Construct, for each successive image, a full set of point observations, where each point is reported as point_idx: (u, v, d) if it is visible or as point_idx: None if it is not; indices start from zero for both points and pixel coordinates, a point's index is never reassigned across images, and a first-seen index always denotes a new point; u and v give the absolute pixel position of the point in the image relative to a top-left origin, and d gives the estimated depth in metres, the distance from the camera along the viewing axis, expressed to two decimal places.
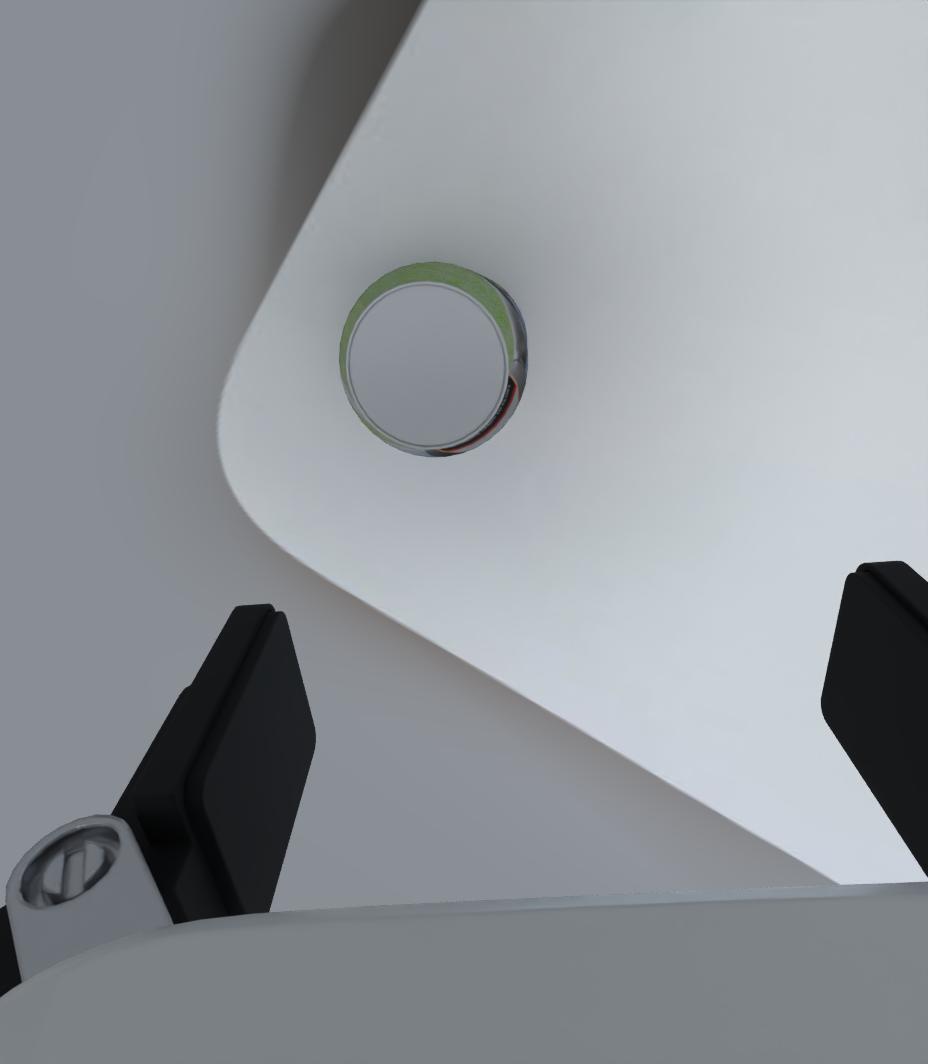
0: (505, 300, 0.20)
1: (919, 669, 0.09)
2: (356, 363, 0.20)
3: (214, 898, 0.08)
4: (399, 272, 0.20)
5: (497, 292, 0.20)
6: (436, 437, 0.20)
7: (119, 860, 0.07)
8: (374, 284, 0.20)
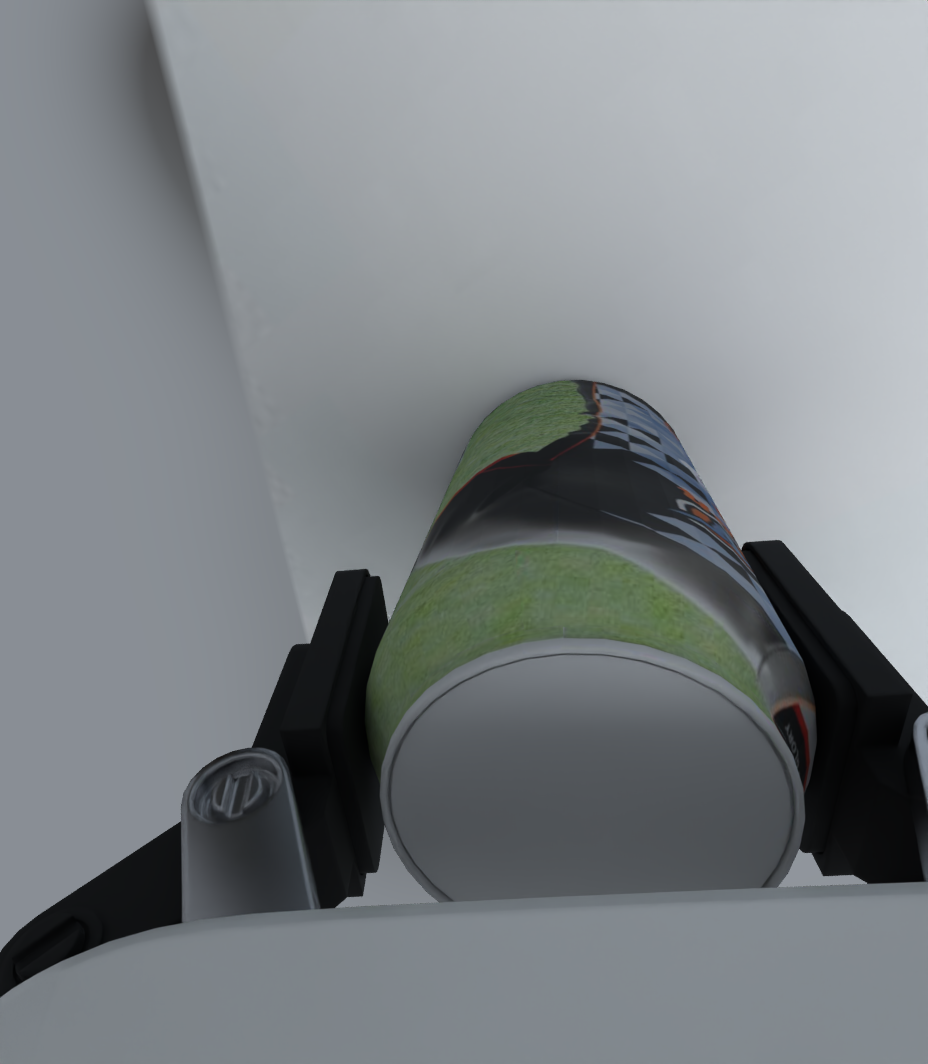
0: (639, 550, 0.08)
1: None
2: (442, 876, 0.09)
3: (345, 829, 0.09)
4: (393, 652, 0.08)
5: (610, 553, 0.08)
6: None
7: (279, 784, 0.08)
8: (369, 692, 0.09)
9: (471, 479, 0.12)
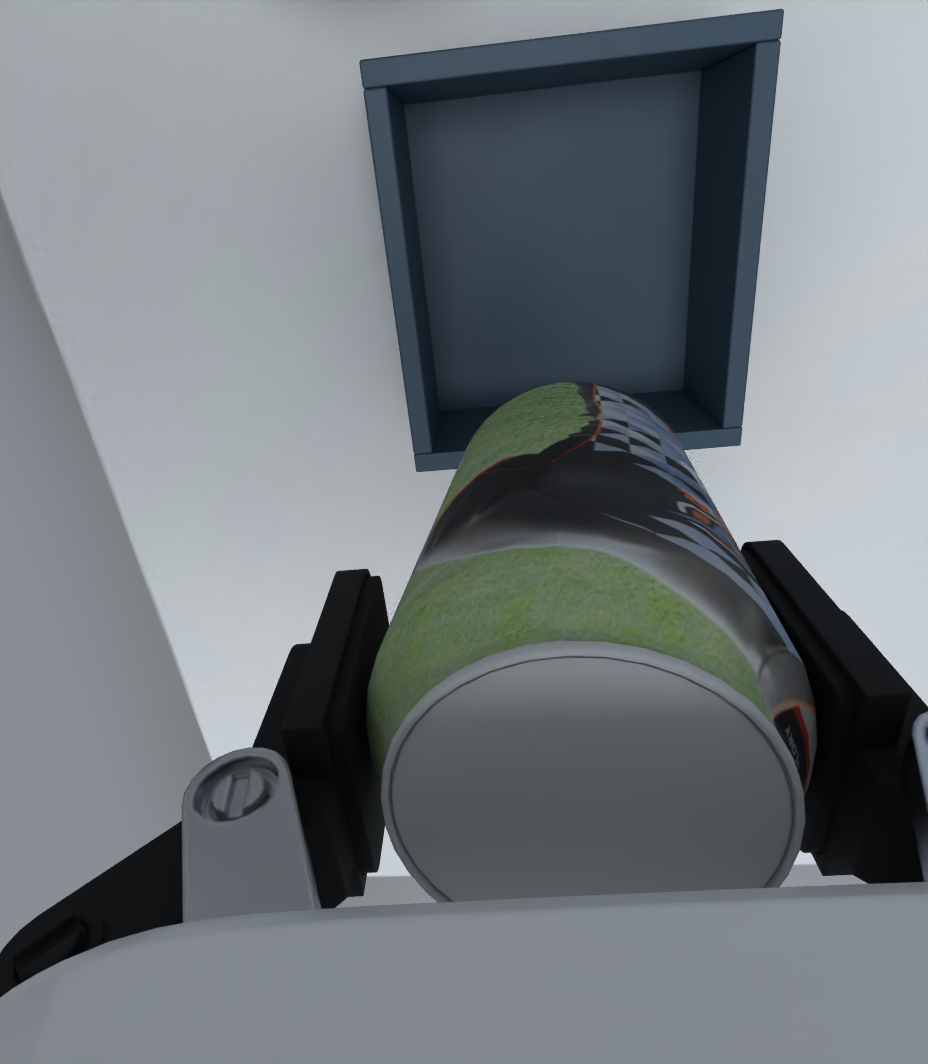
0: (640, 553, 0.08)
1: None
2: (443, 878, 0.09)
3: (346, 829, 0.09)
4: (394, 654, 0.08)
5: (610, 556, 0.08)
6: None
7: (280, 784, 0.08)
8: (370, 694, 0.09)
9: (472, 481, 0.12)
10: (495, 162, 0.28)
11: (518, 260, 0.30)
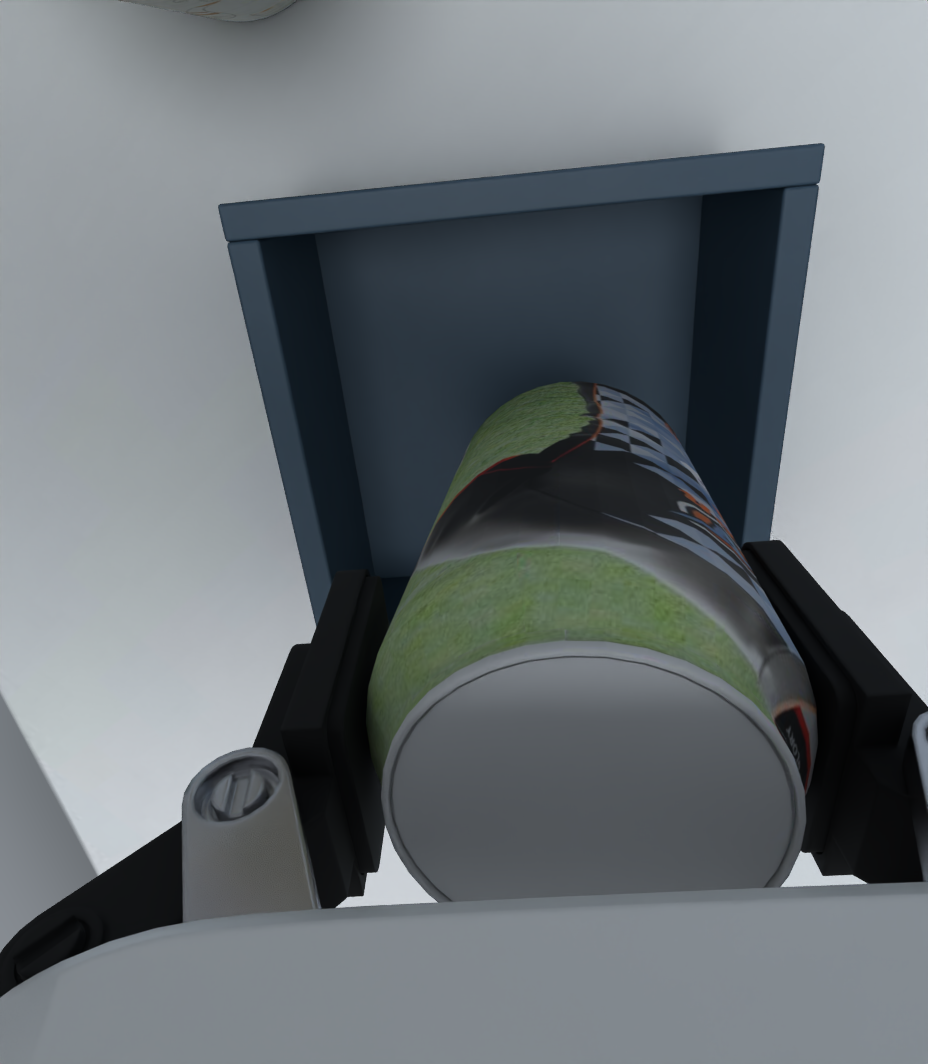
0: (640, 553, 0.08)
1: None
2: (443, 878, 0.09)
3: (346, 830, 0.09)
4: (394, 654, 0.08)
5: (612, 556, 0.08)
6: None
7: (280, 784, 0.08)
8: (370, 694, 0.09)
9: (472, 481, 0.12)
10: (435, 295, 0.22)
11: (469, 410, 0.24)
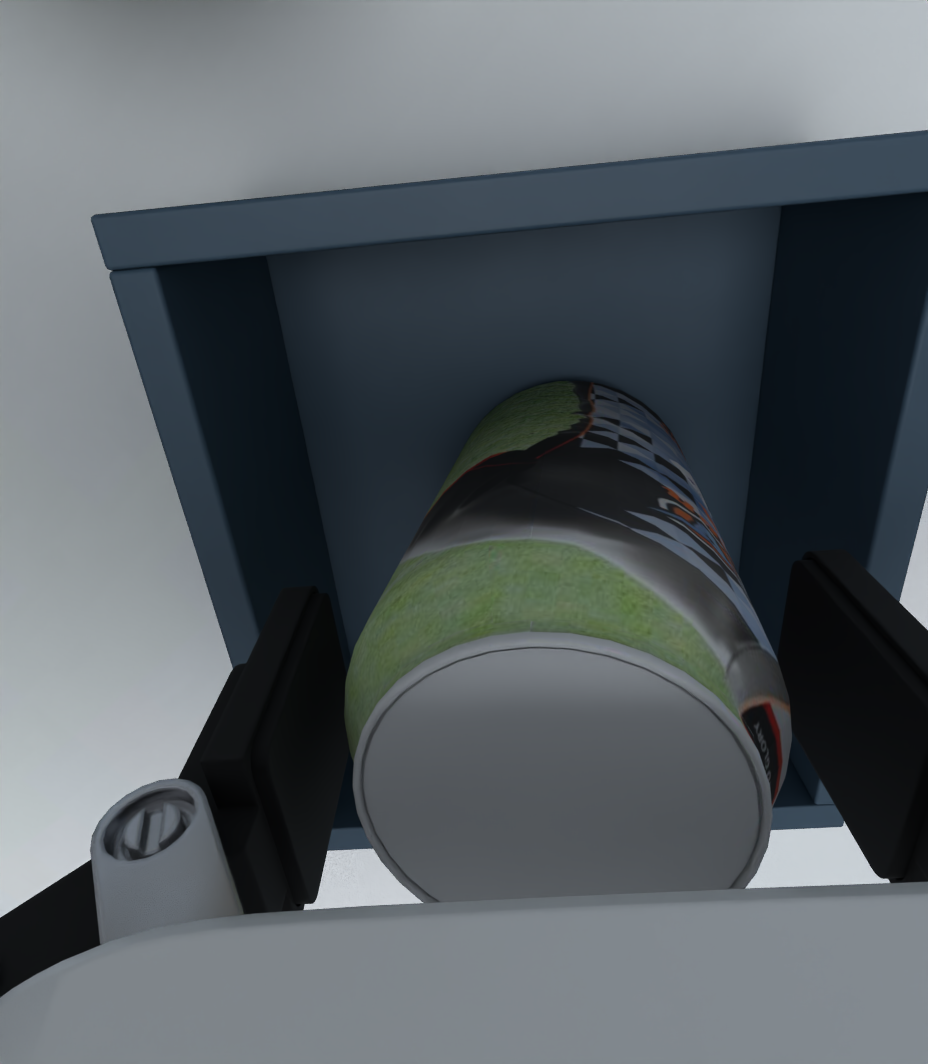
0: (611, 547, 0.08)
1: (851, 650, 0.09)
2: (415, 867, 0.09)
3: (276, 862, 0.08)
4: (369, 644, 0.09)
5: (581, 549, 0.08)
6: None
7: (195, 819, 0.07)
8: (347, 684, 0.09)
9: (460, 477, 0.12)
10: (425, 330, 0.17)
11: None
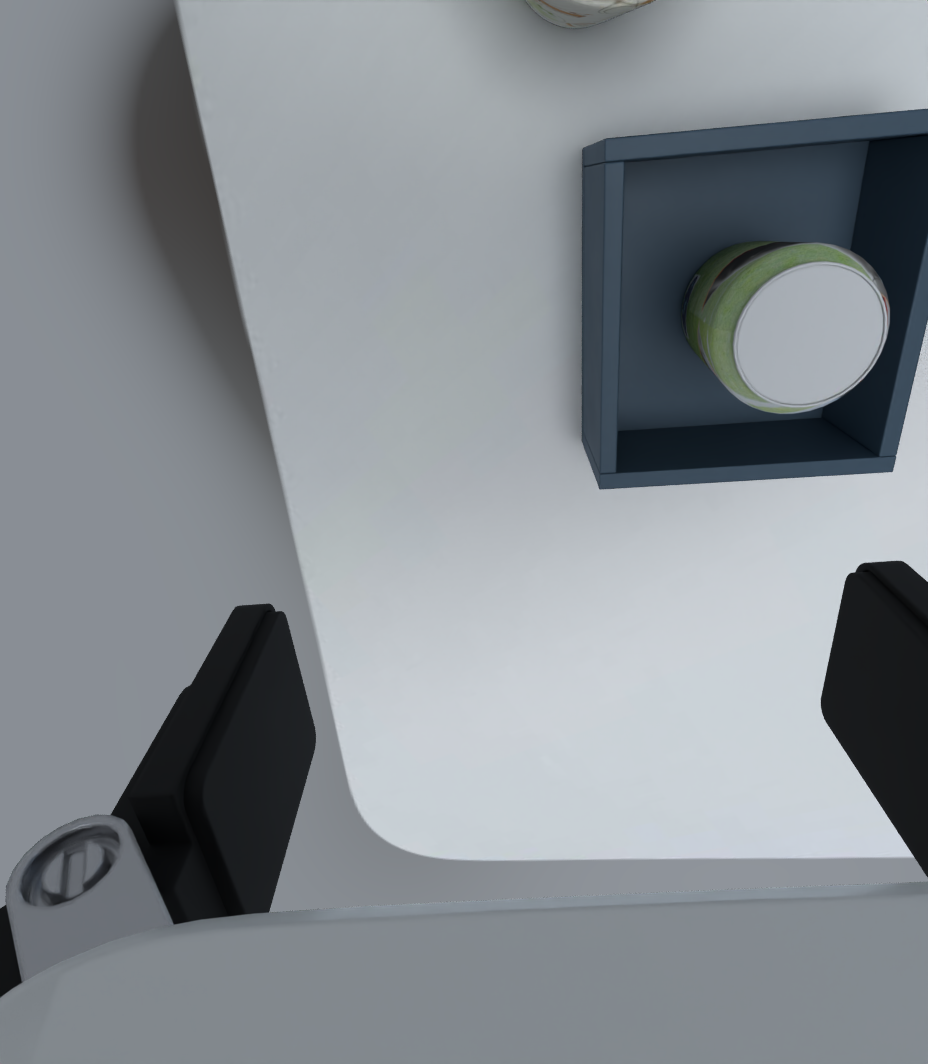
0: (831, 245, 0.23)
1: (919, 669, 0.09)
2: (750, 372, 0.24)
3: (214, 897, 0.08)
4: (736, 288, 0.24)
5: (822, 244, 0.23)
6: (846, 380, 0.23)
7: (119, 860, 0.07)
8: (720, 310, 0.24)
9: (731, 261, 0.27)
10: (676, 215, 0.32)
11: None
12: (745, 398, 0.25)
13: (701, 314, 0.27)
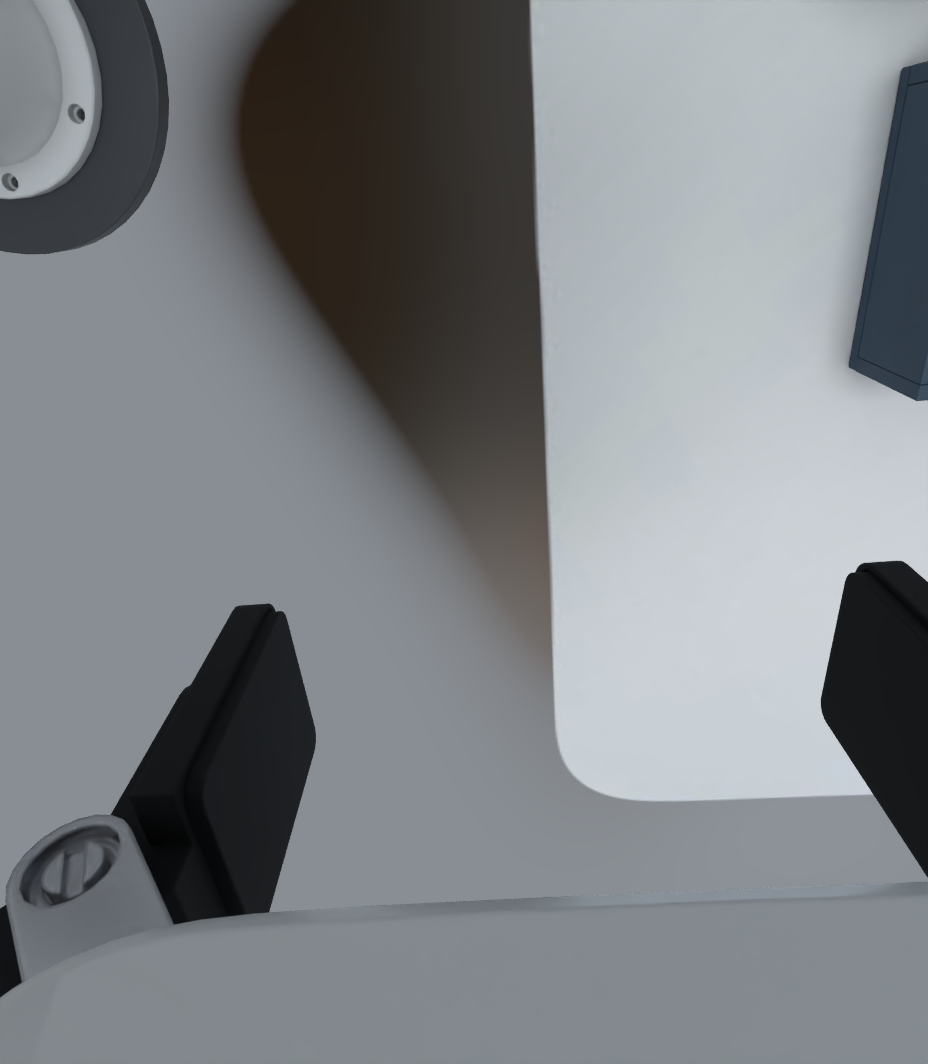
0: None
1: (919, 669, 0.09)
2: None
3: (214, 897, 0.08)
4: None
5: None
6: None
7: (119, 860, 0.07)
8: None
9: None
10: None
11: None
12: None
13: None
